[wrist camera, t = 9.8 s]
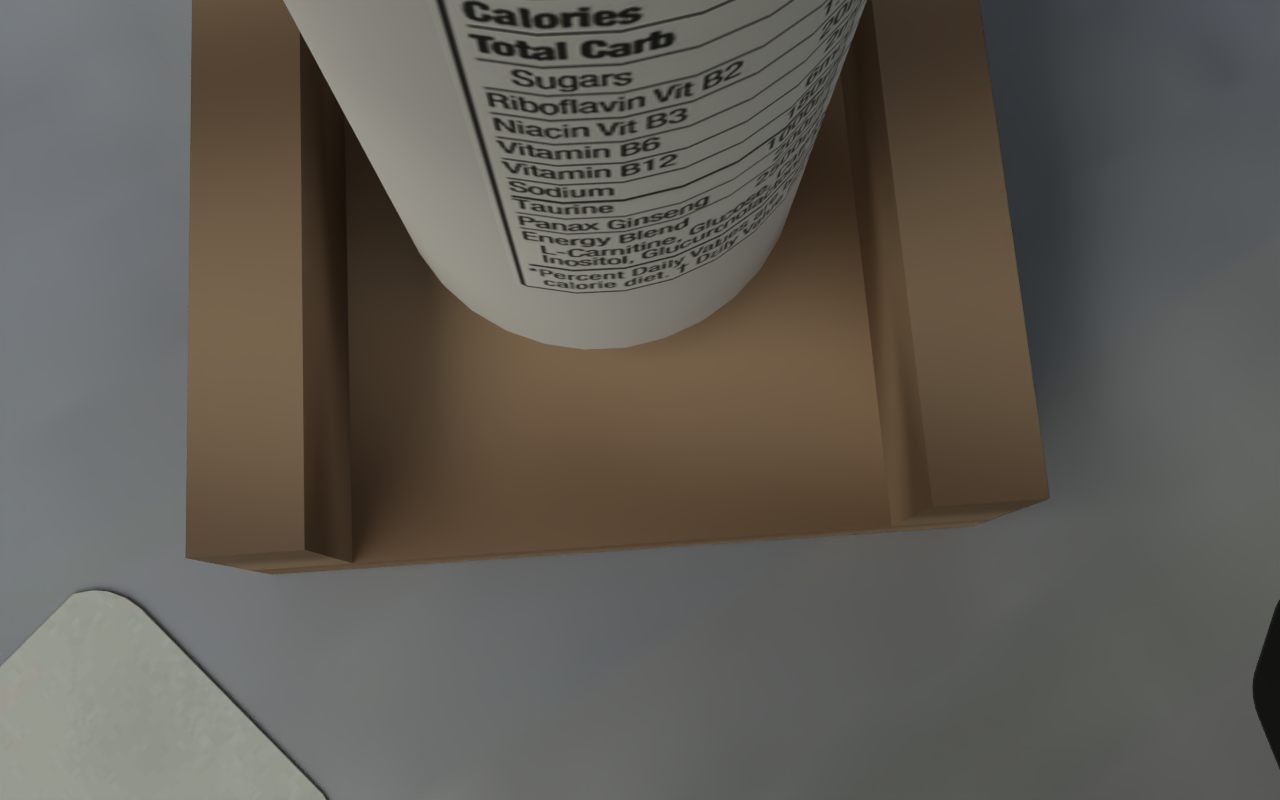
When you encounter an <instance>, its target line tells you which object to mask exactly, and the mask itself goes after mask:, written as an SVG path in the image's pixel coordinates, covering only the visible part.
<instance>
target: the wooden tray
mask: <svg viewBox="0 0 1280 800" xmlns="http://www.w3.org/2000/svg"><path fill="white" fill-rule="evenodd" d="M1047 499H1050V496H1049V489H1048V482H1047V475H1046V468H1045V461H1044V454H1043V447H1042V440H1041V433H1040V426H1039V419H1038V412H1037V405H1036V398H1035V391H1034V383H1033V376H1032V369H1031V362H1030V355H1029V348H1028V341H1027V334H1026V327H1025V320H1024V313H1023V306H1022V299H1021V292H1020V285H1019V278H1018V271H1017V263H1016V256H1015V249H1014V242H1013V235H1012V228H1011V221H1010V214H1009V207H1008V200H1007V193H1006V186H1005V179H1004V172H1003V165H1002V158H1001V151H1000V143H999V136H998V129H997V122H996V115H995V108H994V101H993V94H992V87H991V80H990V73H989V66H988V59H987V52H986V45H985V38H984V31H983V23H982V16H981V9H980V2H979V0H867V1H866V4H865V7H864V9H863V12H862V15H861V18H860V20H859V23H858V26H857V28H856V31H855V34H854V37H853V39H852V42H851V45H850V47H849V50H848V53H847V56H846V58H845V61H844V64H843V67H842V69H841V72H840V75H839V77H838V80H837V83H836V86H835V88H834V91H833V94H832V97H831V99H830V102H829V105H828V107H827V110H826V113H825V116H824V118H823V121H822V124H821V127H820V129H819V132H818V135H817V137H816V140H815V143H814V146H813V148H812V151H811V154H810V156H809V159H808V162H807V165H806V167H805V170H804V173H803V176H802V178H801V181H800V184H799V186H798V189H797V192H796V195H795V197H794V200H793V203H792V206H791V208H790V211H789V214H788V216H787V219H786V222H785V225H784V227H783V230H782V233H781V236H780V237H779V239H778V241H777V242H776V244H775V246H774V247H773V249H772V251H771V252H770V254H769V256H768V258H767V259H766V261H765V263H764V264H763V266H762V268H761V269H760V270H759V271H758V272H757V273H756V275H755V276H754V277H753V278H752V279H751V280H750V281H749V282H748V283H747V284H746V285H745V287H744V288H743V289H742V290H741V291H740V292H739V293H738V294H737V295H736V296H735V297H734V298H733V299H732V300H730V301H729V302H728V303H726V304H725V305H723V306H722V307H721V308H719V309H718V310H717V311H715V312H714V313H712V314H711V315H710V316H708V317H707V318H706V319H704V320H703V321H701V322H699V323H697V324H695V325H692V326H690V327H688V328H686V329H684V330H682V331H679V332H677V333H675V334H673V335H671V336H669V337H666V338H663V339H659V340H655V341H651V342H647V343H643V344H639V345H635V346H631V347H627V348H608V349H588V350H584V349H577V348H570V347H563V346H556V345H549V344H544V343H541V342H538V341H535V340H532V339H529V338H526V337H523V336H520V335H518V334H515V333H512V332H509V331H506V330H505V329H503V328H501V327H499V326H498V325H496V324H494V323H493V322H491V321H489V320H487V319H486V318H484V317H482V316H480V315H479V314H477V313H475V312H474V311H472V310H471V309H470V308H469V307H467V306H466V305H465V304H464V303H463V302H462V301H461V300H460V299H458V298H457V297H456V296H455V295H454V294H453V293H452V292H451V291H450V290H448V289H447V288H446V287H445V286H444V285H443V284H442V283H441V281H440V280H439V279H438V277H437V276H436V275H435V273H434V272H433V271H432V269H431V268H430V267H429V265H428V264H427V263H426V261H425V260H424V259H423V257H422V256H421V255H420V253H419V251H418V249H417V248H416V246H415V244H414V242H413V240H412V238H411V236H410V235H409V233H408V231H407V229H406V227H405V225H404V223H403V222H402V220H401V218H400V216H399V214H398V212H397V210H396V209H395V207H394V205H393V203H392V201H391V199H390V197H389V196H388V194H387V192H386V190H385V188H384V186H383V185H382V183H381V181H380V179H379V177H378V175H377V173H376V172H375V170H374V168H373V166H372V164H371V162H370V160H369V159H368V157H367V155H366V153H365V151H364V149H363V147H362V146H361V144H360V142H359V140H358V138H357V136H356V134H355V133H354V131H353V129H352V127H351V125H350V123H349V121H348V120H347V118H346V116H345V114H344V112H343V110H342V108H341V107H340V105H339V103H338V101H337V99H336V97H335V95H334V94H333V92H332V90H331V88H330V86H329V84H328V82H327V81H326V79H325V77H324V75H323V73H322V71H321V69H320V68H319V66H318V64H317V62H316V60H315V58H314V56H313V55H312V53H311V51H310V49H309V47H308V45H307V43H306V42H305V40H304V38H303V36H302V34H301V32H300V30H299V29H298V27H297V25H296V23H295V21H294V19H293V17H292V16H291V14H290V12H289V10H288V8H287V6H286V4H285V3H284V1H283V0H192V58H191V145H190V231H189V318H188V405H187V492H186V558H188V559H194V560H199V561H204V562H209V563H215V564H220V565H225V566H230V567H236V568H241V569H246V570H251V571H257V572H262V573H267V574H285V573H299V572H314V571H328V570H342V569H357V568H371V567H386V566H400V565H415V564H429V563H444V562H458V561H473V560H487V559H502V558H516V557H531V556H545V555H559V554H574V553H588V552H603V551H617V550H632V549H646V548H661V547H675V546H690V545H704V544H719V543H733V542H748V541H762V540H776V539H791V538H805V537H820V536H834V535H849V534H863V533H878V532H892V531H907V530H921V529H936V528H950V527H965V526H974V525H977V524H980V523H983V522H986V521H988V520H991V519H994V518H997V517H1000V516H1002V515H1005V514H1008V513H1011V512H1013V511H1016V510H1019V509H1022V508H1025V507H1027V506H1030V505H1033V504H1036V503H1039V502H1041V501H1044V500H1047Z"/></svg>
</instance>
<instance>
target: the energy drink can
mask: <svg viewBox="0 0 1280 800" xmlns="http://www.w3.org/2000/svg"><path fill="white" fill-rule="evenodd" d="M283 1H284V3H285V4H286V6H287V8H288V10H289V12H290V14H291V16H292V17H293V19H294V21H295V23H296V25H297V27H298V29H299V30H300V32H301V34H302V36H303V38H304V40H305V42H306V43H307V45H308V47H309V49H310V51H311V53H312V55H313V56H314V58H315V60H316V62H317V64H318V66H319V68H320V69H321V71H322V73H323V75H324V77H325V79H326V81H327V82H328V84H329V86H330V88H331V90H332V92H333V94H334V95H335V97H336V99H337V101H338V103H339V105H340V107H341V108H342V110H343V112H344V114H345V116H346V118H347V120H348V121H349V123H350V125H351V127H352V129H353V131H354V133H355V134H356V136H357V138H358V140H359V142H360V144H361V146H362V147H363V149H364V151H365V153H366V155H367V157H368V159H369V160H370V162H371V164H372V166H373V168H374V170H375V172H376V173H377V175H378V177H379V179H380V181H381V183H382V185H383V186H384V188H385V190H386V192H387V194H388V196H389V197H390V199H391V201H392V203H393V205H394V207H395V209H396V210H397V212H398V214H399V216H400V218H401V220H402V222H403V223H404V225H405V227H406V229H407V231H408V233H409V235H410V236H411V238H412V240H413V242H414V244H415V246H416V248H417V249H418V251H419V253H420V255H421V256H422V257H423V259H424V260H425V261H426V263H427V264H428V265H429V267H430V268H431V269H432V271H433V272H434V273H435V275H436V276H437V277H438V279H439V280H440V281H441V283H442V284H443V285H444V286H445V287H446V288H447V289H448V290H450V291H451V292H452V293H453V294H454V295H455V296H456V297H457V298H458V299H460V300H461V301H462V302H463V303H464V304H465V305H466V306H467V307H469V308H470V309H471V310H472V311H474V312H475V313H477V314H479V315H480V316H482V317H484V318H486V319H487V320H489V321H491V322H493V323H494V324H496V325H498V326H499V327H501V328H503V329H505V330H506V331H509V332H512V333H515V334H518V335H520V336H523V337H526V338H529V339H532V340H535V341H538V342H541V343H544V344H549V345H556V346H563V347H570V348H577V349H584V350H588V349H608V348H627V347H631V346H635V345H639V344H643V343H647V342H651V341H655V340H659V339H663V338H666V337H669V336H671V335H673V334H675V333H677V332H679V331H682V330H684V329H686V328H688V327H690V326H692V325H695V324H697V323H699V322H701V321H703V320H704V319H706V318H707V317H708V316H710V315H711V314H712V313H714V312H715V311H717V310H718V309H719V308H721V307H722V306H723V305H725V304H726V303H728V302H729V301H730V300H732V299H733V298H734V297H735V296H736V295H737V294H738V293H739V292H740V291H741V290H742V289H743V288H744V287H745V285H746V284H747V283H748V282H749V281H750V280H751V279H752V278H753V277H754V276H755V275H756V273H757V272H758V271H759V270H760V269H761V268H762V266H763V264H764V263H765V261H766V259H767V258H768V256H769V254H770V252H771V251H772V249H773V247H774V246H775V244H776V242H777V241H778V239H779V237H780V236H781V233H782V230H783V227H784V225H785V222H786V219H787V216H788V214H789V211H790V208H791V206H792V203H793V200H794V197H795V195H796V192H797V189H798V186H799V184H800V181H801V178H802V176H803V173H804V170H805V167H806V165H807V162H808V159H809V156H810V154H811V151H812V148H813V146H814V143H815V140H816V137H817V135H818V132H819V129H820V127H821V124H822V121H823V118H824V116H825V113H826V110H827V107H828V105H829V102H830V99H831V97H832V94H833V91H834V88H835V86H836V83H837V80H838V77H839V75H840V72H841V69H842V67H843V64H844V61H845V58H846V56H847V53H848V50H849V47H850V45H851V42H852V39H853V37H854V34H855V31H856V28H857V26H858V23H859V20H860V18H861V15H862V12H863V9H864V7H865V4H866V1H867V0H283Z"/></svg>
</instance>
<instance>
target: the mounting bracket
mask: <svg viewBox="0 0 1280 800" xmlns="http://www.w3.org/2000/svg"><path fill="white" fill-rule="evenodd" d="M0 800H327V799H326V797H325V796H324V794H323V793H322V792H321V791H320V790H319V789H318V788H317V787H316V786H315V785H314V784H313V783H312V782H311V781H310V780H309V779H308V778H307V777H306V776H305V775H304V774H303V773H302V772H301V771H300V770H299V769H298V767H297V766H296V765H295V764H294V763H293V762H292V761H291V760H290V759H289V758H288V757H287V756H286V755H285V754H284V753H283V752H282V751H281V750H280V749H279V748H278V747H277V746H276V745H275V744H274V743H273V742H272V741H271V740H270V739H269V738H268V737H267V736H266V735H265V734H264V733H263V732H262V731H261V730H260V729H259V728H258V727H257V726H256V725H255V724H254V723H253V722H252V721H251V719H250V718H249V717H248V716H247V715H246V714H245V713H244V712H243V711H242V710H241V709H240V708H239V707H238V706H237V705H236V704H235V703H234V702H233V701H232V700H231V699H230V698H229V697H228V696H227V695H226V694H225V693H224V692H223V691H222V690H221V689H220V688H219V687H218V686H217V685H216V684H215V683H214V682H213V681H212V680H211V679H210V678H209V677H208V676H207V675H206V674H205V673H204V671H203V670H202V669H201V668H200V667H199V666H198V665H197V664H196V663H195V662H194V661H193V660H192V659H191V658H190V657H189V656H188V655H187V654H186V653H185V652H184V651H183V650H182V649H181V648H180V647H179V646H178V645H177V644H176V643H175V642H174V641H173V640H172V639H171V638H170V637H169V636H168V635H167V634H166V633H165V632H164V631H163V630H162V629H161V628H160V627H159V626H158V625H157V623H156V622H155V621H154V620H153V619H152V618H151V617H150V616H149V615H148V614H147V613H146V612H145V611H144V610H143V609H142V608H140V607H139V606H138V605H136V604H135V603H133V602H132V601H131V600H129V599H128V598H125V597H123V596H120V595H117V594H115V593H112V592H108V591H95V590H92V591H87V592H81V593H75V594H73V595H72V596H71V597H70V598H69V599H68V600H67V601H66V602H65V603H64V604H63V605H62V606H61V607H60V608H59V609H58V610H57V611H56V612H55V613H54V614H53V615H52V616H51V617H50V618H49V619H48V620H47V621H46V622H45V623H44V624H43V625H42V626H41V627H40V628H39V629H38V630H37V631H36V632H35V633H34V634H33V635H32V636H31V637H30V638H29V639H28V640H27V641H26V642H25V643H24V644H23V645H22V646H21V647H20V648H19V649H18V650H17V651H16V652H15V653H14V654H13V655H12V656H11V657H10V658H9V659H8V660H7V661H6V662H5V663H4V664H3V665H2V666H1V667H0Z"/></svg>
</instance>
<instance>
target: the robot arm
mask: <svg viewBox="0 0 1280 800" xmlns="http://www.w3.org/2000/svg"><path fill="white" fill-rule="evenodd" d="M1253 699H1254V703H1255V708H1256V711H1257V714H1258V717H1259V720H1260V722H1261V724H1262V727H1263V729H1264V732H1265V734H1266V737H1267V739H1268V742H1269V744H1270V747H1271V749H1272V752H1273V754H1274V757H1275V759H1276V762H1277V764H1278V766H1279V769H1280V600H1279V601H1278V603H1277V605H1276V608H1275V611H1274V614H1273V617H1272V620H1271V623H1270V626H1269V629H1268V632H1267V635H1266V638H1265V642H1264V645H1263V648H1262V651H1261V654H1260V657H1259V660H1258V663H1257V666H1256V670H1255V673H1254V678H1253Z"/></svg>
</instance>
